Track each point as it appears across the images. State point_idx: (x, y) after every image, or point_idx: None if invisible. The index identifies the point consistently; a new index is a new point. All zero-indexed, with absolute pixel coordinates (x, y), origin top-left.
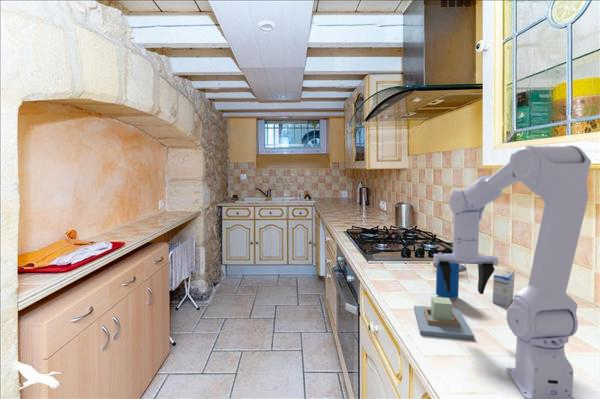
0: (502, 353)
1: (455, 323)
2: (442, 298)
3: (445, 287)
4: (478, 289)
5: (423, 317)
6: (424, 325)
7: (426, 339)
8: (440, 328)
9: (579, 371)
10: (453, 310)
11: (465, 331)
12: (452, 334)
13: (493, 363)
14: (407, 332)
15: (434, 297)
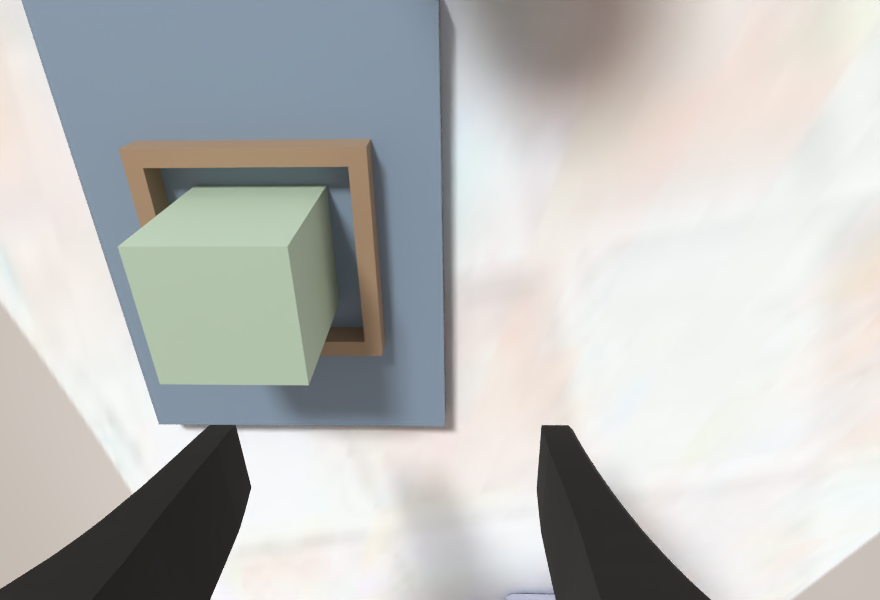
0: None
1: (354, 352)
2: (225, 270)
3: (196, 437)
4: (544, 453)
5: None
6: None
7: None
8: None
9: (789, 560)
10: (381, 42)
11: (408, 389)
12: (332, 423)
13: (473, 561)
14: (99, 396)
15: (148, 261)
